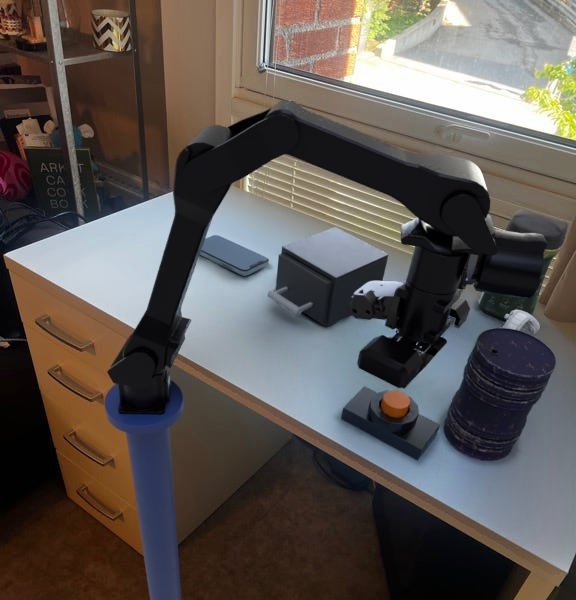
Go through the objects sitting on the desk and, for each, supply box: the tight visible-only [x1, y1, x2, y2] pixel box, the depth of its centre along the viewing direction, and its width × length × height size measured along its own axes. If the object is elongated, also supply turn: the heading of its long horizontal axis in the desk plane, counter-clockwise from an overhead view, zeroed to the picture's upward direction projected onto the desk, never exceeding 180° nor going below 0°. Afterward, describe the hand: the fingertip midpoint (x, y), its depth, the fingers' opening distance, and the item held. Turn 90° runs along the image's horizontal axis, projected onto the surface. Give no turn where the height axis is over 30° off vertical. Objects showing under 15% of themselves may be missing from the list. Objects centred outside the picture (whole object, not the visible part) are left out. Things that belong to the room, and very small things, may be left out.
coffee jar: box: [478, 208, 569, 322], centre depth 97 cm, size 10×8×19 cm
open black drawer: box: [267, 253, 332, 324], centre depth 96 cm, size 17×11×8 cm
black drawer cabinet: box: [280, 226, 389, 328], centre depth 98 cm, size 14×13×10 cm
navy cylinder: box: [442, 327, 557, 462], centre depth 73 cm, size 10×10×15 cm
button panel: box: [340, 386, 441, 461], centre depth 76 cm, size 12×6×4 cm, turn 55°
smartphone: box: [199, 234, 270, 276], centre depth 108 cm, size 8×2×15 cm
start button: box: [381, 389, 410, 418], centre depth 74 cm, size 4×4×2 cm
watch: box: [502, 310, 541, 336], centre depth 85 cm, size 6×8×11 cm
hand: (401, 385), depth 72 cm, fingers closed
